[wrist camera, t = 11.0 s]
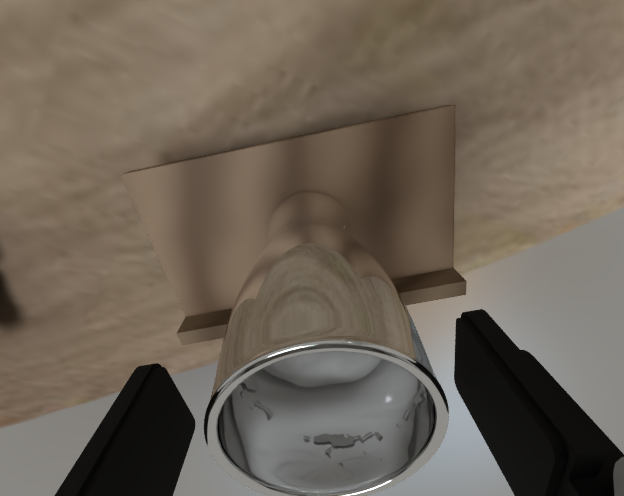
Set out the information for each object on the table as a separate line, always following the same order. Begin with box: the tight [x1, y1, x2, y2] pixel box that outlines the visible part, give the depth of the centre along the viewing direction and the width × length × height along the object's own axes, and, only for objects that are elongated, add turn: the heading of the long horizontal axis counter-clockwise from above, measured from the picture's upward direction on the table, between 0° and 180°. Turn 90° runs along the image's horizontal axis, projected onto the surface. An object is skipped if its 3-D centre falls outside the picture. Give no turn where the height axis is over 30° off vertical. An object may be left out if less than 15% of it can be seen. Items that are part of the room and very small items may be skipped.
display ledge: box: [120, 105, 466, 345], centre depth 23 cm, size 22×13×7 cm, turn 101°
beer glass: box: [204, 192, 449, 496], centre depth 15 cm, size 7×7×15 cm
